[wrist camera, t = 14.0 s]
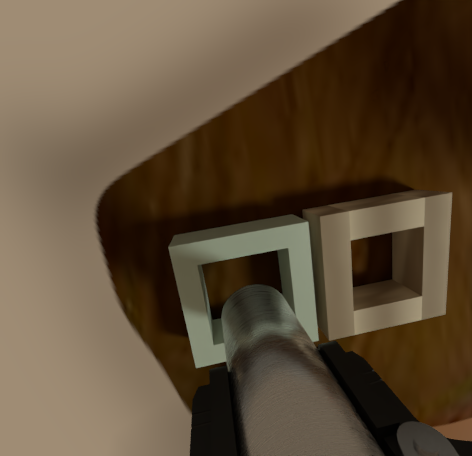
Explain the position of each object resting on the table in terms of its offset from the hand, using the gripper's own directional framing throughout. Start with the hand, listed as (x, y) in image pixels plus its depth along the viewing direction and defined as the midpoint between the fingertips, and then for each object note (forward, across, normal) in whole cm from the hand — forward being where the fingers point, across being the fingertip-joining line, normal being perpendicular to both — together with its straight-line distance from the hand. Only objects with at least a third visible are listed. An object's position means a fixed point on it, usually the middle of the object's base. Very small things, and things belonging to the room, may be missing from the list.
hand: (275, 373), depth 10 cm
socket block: (+9, -10, 0) cm, 14 cm away
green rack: (+9, 0, 0) cm, 9 cm away
